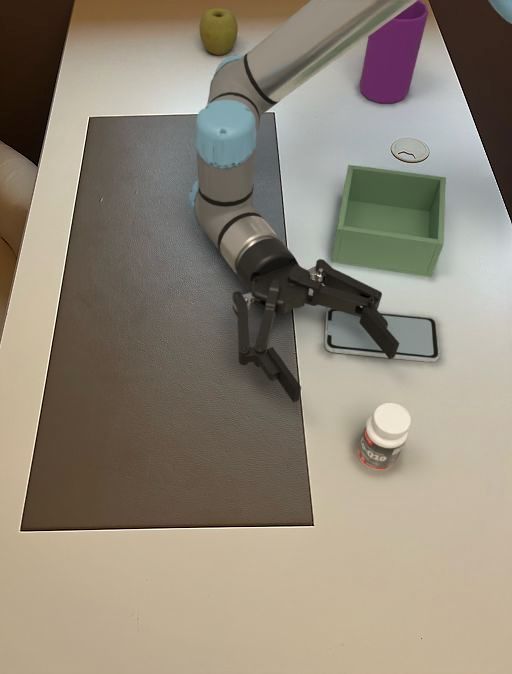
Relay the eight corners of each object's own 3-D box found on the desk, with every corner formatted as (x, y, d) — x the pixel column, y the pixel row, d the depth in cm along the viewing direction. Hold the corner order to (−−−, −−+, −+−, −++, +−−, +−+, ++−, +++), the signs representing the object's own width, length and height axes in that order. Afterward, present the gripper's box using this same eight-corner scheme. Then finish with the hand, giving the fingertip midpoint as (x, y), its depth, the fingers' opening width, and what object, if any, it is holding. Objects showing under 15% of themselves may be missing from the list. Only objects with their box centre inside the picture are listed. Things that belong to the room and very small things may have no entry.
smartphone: (440, 360, 81) (325, 348, 82) (438, 364, 82) (324, 353, 83) (436, 317, 86) (326, 306, 86) (434, 321, 86) (325, 311, 87)
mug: (355, 101, 116) (370, 16, 104) (367, 58, 125) (383, -25, 112) (404, 108, 115) (426, 23, 102) (414, 65, 123) (434, -19, 111)
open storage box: (434, 211, 99) (446, 177, 93) (430, 277, 91) (443, 243, 85) (342, 199, 101) (348, 164, 95) (330, 262, 93) (337, 228, 87)
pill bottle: (348, 453, 75) (361, 417, 68) (373, 429, 77) (387, 392, 70) (380, 479, 73) (396, 444, 66) (404, 454, 75) (422, 417, 68)
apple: (239, 41, 129) (240, 4, 123) (234, 62, 124) (234, 24, 118) (203, 39, 129) (202, 2, 124) (197, 59, 125) (195, 22, 119)
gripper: (333, 248, 90) (424, 352, 79) (176, 309, 84) (252, 431, 73) (341, 207, 84) (441, 314, 73) (172, 269, 78) (255, 396, 67)
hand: (347, 373), depth 73 cm, fingers open, 13 cm apart
